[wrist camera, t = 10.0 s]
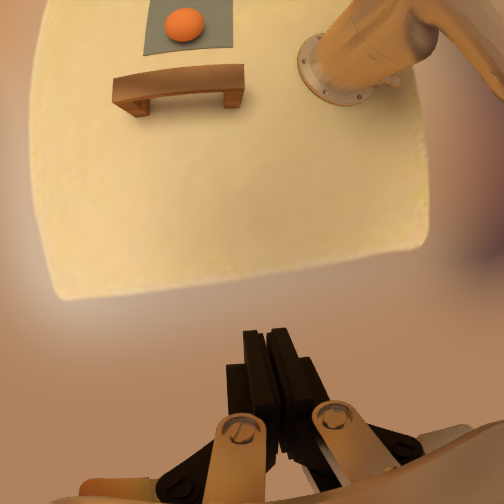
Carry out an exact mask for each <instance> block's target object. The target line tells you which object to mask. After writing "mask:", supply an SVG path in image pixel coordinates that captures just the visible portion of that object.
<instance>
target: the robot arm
mask: <svg viewBox="0 0 504 504" xmlns="http://www.w3.org/2000/svg"><path fill="white" fill-rule="evenodd" d="M439 30H440V31H441V32H442V33H443V34H444V35H446V37H447V38H448V39H449V40H450V41H451V42H452V43H454V44H455V45H456V46H457V48H458V49H459V50H460V51H461V52H462V53H463V55H464V56H465V57H466V58H467V59H468V60H469V62H470V63H471V64H472V66H473V67H474V68H475V70H476V71H477V72H478V73H479V75H480V76H481V78H482V79H483V80H484V82H485V83H486V85H487V86H488V87H489V88H490V90H491V91H492V92H493V94H495V96H496V97H497V98H498V99H499V100H500V101H502V102H503V103H504V0H354V1H353V2H352V3H351V4H350V5H349V6H348V8H347V9H346V10H345V11H344V12H343V13H342V14H341V15H340V17H339V18H338V19H337V20H336V21H335V22H334V24H333V25H332V26H331V27H330V28H329V30H328V31H327V32H326V33H321V34H317V35H314V36H312V37H310V38H309V39H308V40H306V41H305V42H304V44H303V45H302V47H301V49H300V51H299V53H298V58H297V59H298V68H299V72H300V74H301V77H302V79H303V80H304V82H305V83H306V85H307V86H308V87H309V88H310V89H311V90H312V91H313V92H314V93H315V94H316V95H318V96H319V97H321V98H322V99H324V100H326V101H328V102H331V103H333V104H338V105H347V106H348V105H355V104H357V103H360V102H362V101H364V100H366V99H367V98H368V97H369V96H370V95H371V93H372V92H373V90H374V87H375V85H376V84H379V85H382V84H383V83H384V84H387V85H390V86H394V87H399V86H400V85H401V79H400V77H399V76H395V75H392V74H394V73H396V72H399V71H401V70H403V69H405V68H407V67H409V66H411V65H414V64H416V63H418V62H420V61H423V60H424V59H426V58H427V57H428V56H430V55H431V54H432V52H433V50H434V49H435V47H436V44H437V41H438V35H439ZM302 62H303V63H304V64H303V63H302ZM322 92H324V94H323V93H322ZM266 339H267V340H266V343H265V340H264V336H263V333H259V334H258V332H257V330H251V331H243V341H244V342H243V343H244V362H245V364H230V365H226V375H227V395H228V413H229V416H227V417H225V418H223V419H222V420H221V421H220V422H219V424H218V426H217V428H216V433H215V439H214V440H212V441H211V442H210V443H208V444H207V445H206V446H204V447H203V448H202V449H200V450H199V451H198V452H196V453H195V454H194V455H192V456H191V457H189V458H188V459H186V460H185V461H184V462H182V463H181V464H179V465H178V466H176V467H175V468H173V469H172V470H170V471H169V472H167V473H166V474H164V475H163V476H162V477H161V478H160V479H149V477H144V478H118V479H104V478H94V479H89V480H87V481H85V482H83V484H82V485H81V486H80V489H79V496H74V497H65V498H61V499H57V500H54V501H51V502H50V503H48V504H504V420H500V421H496V422H492V423H488V424H485V425H483V426H480V427H478V428H476V429H473V428H472V427H470V426H469V425H465V424H460V425H456V426H452V427H449V428H445V429H441V430H438V431H434V432H430V433H426V434H421V435H419V436H418V438H414V437H411V436H409V435H404V434H401V433H397V432H393V431H390V430H386V429H384V428H380V427H377V426H374V425H371V424H367V423H366V422H365V421H364V420H363V418H362V417H361V416H360V415H359V413H358V412H357V411H356V409H354V407H352V406H351V405H350V404H348V403H346V402H343V401H338V400H337V401H336V400H333V401H332V400H331V401H330V399H329V397H328V395H327V392H326V390H325V388H324V386H323V384H322V382H321V380H320V377H319V375H318V373H317V371H316V369H315V367H314V365H313V363H312V361H311V359H310V357H302V358H299V357H298V355H297V353H296V350H295V348H294V345H293V343H292V341H291V338H290V336H289V333H288V331H287V329H286V328H275V329H272V330H271V332H270V333H267V336H266ZM278 444H280V448H281V452H282V453H286V452H287V454H288V458H289V460H290V459H294V461H295V462H297V463H299V464H301V465H302V469H303V471H304V473H305V475H306V477H307V479H308V481H309V483H310V485H311V487H312V489H313V491H314V492H315V494H312V495H307V496H302V497H297V498H291V499H286V500H278V501H271V502H265V475H266V473H267V472H268V471H269V470H270V469H271V467H273V466H274V465H275V461H276V454H277V453H278Z"/></svg>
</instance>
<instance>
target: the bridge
mask: <svg viewBox="0 0 504 504" xmlns="http://www.w3.org/2000/svg"><path fill="white" fill-rule="evenodd" d="M244 89H245V84H244V64H223V65H203V66H191V67H180V68H172V69H164V70H157V71H150V72H144V73H139V74H133V75H128V76H123V77H119V78H114V79H113V91H112V103H114V104H115V105H117V106H119V107H120V108H122V109H123V110H125V111H127V112H128V113H130V114H131V115H133V116H134V117H141V116H148V115H149V99H151V98H158V97H166V96H174V95H184V94H196V93H210V92H224V105H225V109H227V108H240V104H241V100H242V96H243V92H244Z"/></svg>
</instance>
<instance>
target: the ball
mask: <svg viewBox="0 0 504 504" xmlns="http://www.w3.org/2000/svg"><path fill="white" fill-rule="evenodd" d="M203 27H204V19H203V16H202V15H201V14H200V13H199V12H198V11H197V10H195V9H192V8H181V9H178V10H176V11H174V12H172V13H171V14H170V15H169V16H168V17H167V19H166V21H165V32H166V34H167V35H168V36H169V37H170V38H171V39H173V40H176V41H189V40H192V39H194V38H195V37H197V36H198V35H199V34H200V33H201V31H202V30H203Z"/></svg>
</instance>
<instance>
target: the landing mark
mask: <svg viewBox="0 0 504 504" xmlns="http://www.w3.org/2000/svg"><path fill="white" fill-rule="evenodd" d="M181 8H192V9H195V10H197V11H198V12H199V13H200V14H201V15H202V16H203V19H204V27H203V30H202V31H201V33H200V34H199V35H198V36H197V37H195V38H194V39H192V40H189V41H176V40H173V39H171V38H170V37H169V36H168V35H167V34H166V32H165V21H166V19H167V17H168V16H169V15H170V14H171V13H172V12H174V11H176V10H178V9H181ZM229 47H233V16H232V0H150V6H149V12H148V19H147V27H146V35H145V44H144V54H143V56H147V55H153V54H159V53H166V52H173V51H182V50H192V49H206V48H229Z"/></svg>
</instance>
